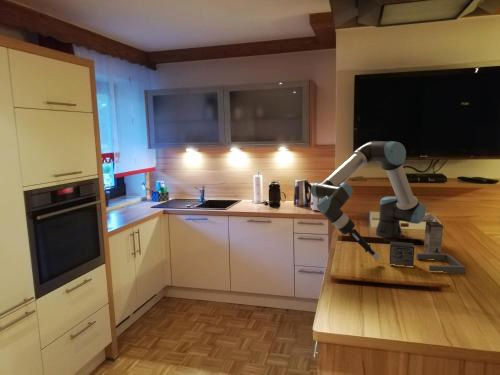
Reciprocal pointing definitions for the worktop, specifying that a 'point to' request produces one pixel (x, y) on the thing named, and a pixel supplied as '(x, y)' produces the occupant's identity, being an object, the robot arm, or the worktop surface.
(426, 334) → the worktop surface
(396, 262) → the small box
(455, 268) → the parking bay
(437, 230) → the coffee box
